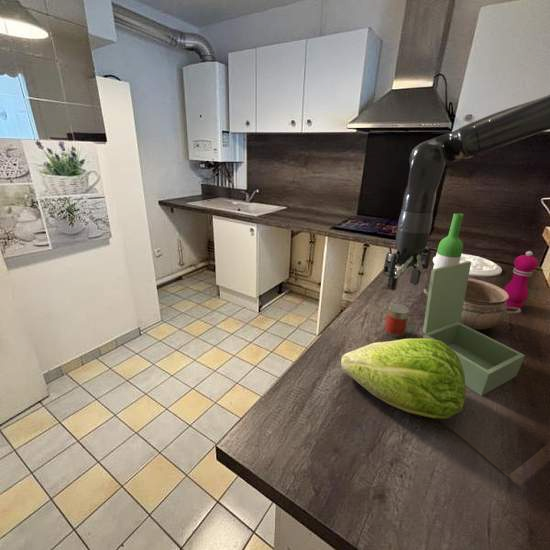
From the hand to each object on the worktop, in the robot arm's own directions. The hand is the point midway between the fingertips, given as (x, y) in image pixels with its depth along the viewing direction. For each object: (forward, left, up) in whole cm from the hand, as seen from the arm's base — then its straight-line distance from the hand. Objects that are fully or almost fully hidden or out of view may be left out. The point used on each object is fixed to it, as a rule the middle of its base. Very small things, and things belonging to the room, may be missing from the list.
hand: (402, 286), depth 79 cm
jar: (0, 0, -16) cm, 16 cm away
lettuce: (+17, +16, -16) cm, 28 cm away
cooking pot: (-24, +5, -16) cm, 29 cm away
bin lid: (-5, +10, 0) cm, 11 cm away
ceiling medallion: (-76, -27, -16) cm, 82 cm away
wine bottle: (-38, -13, -16) cm, 43 cm away
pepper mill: (-51, +5, -16) cm, 54 cm away
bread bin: (-5, +18, -16) cm, 24 cm away
